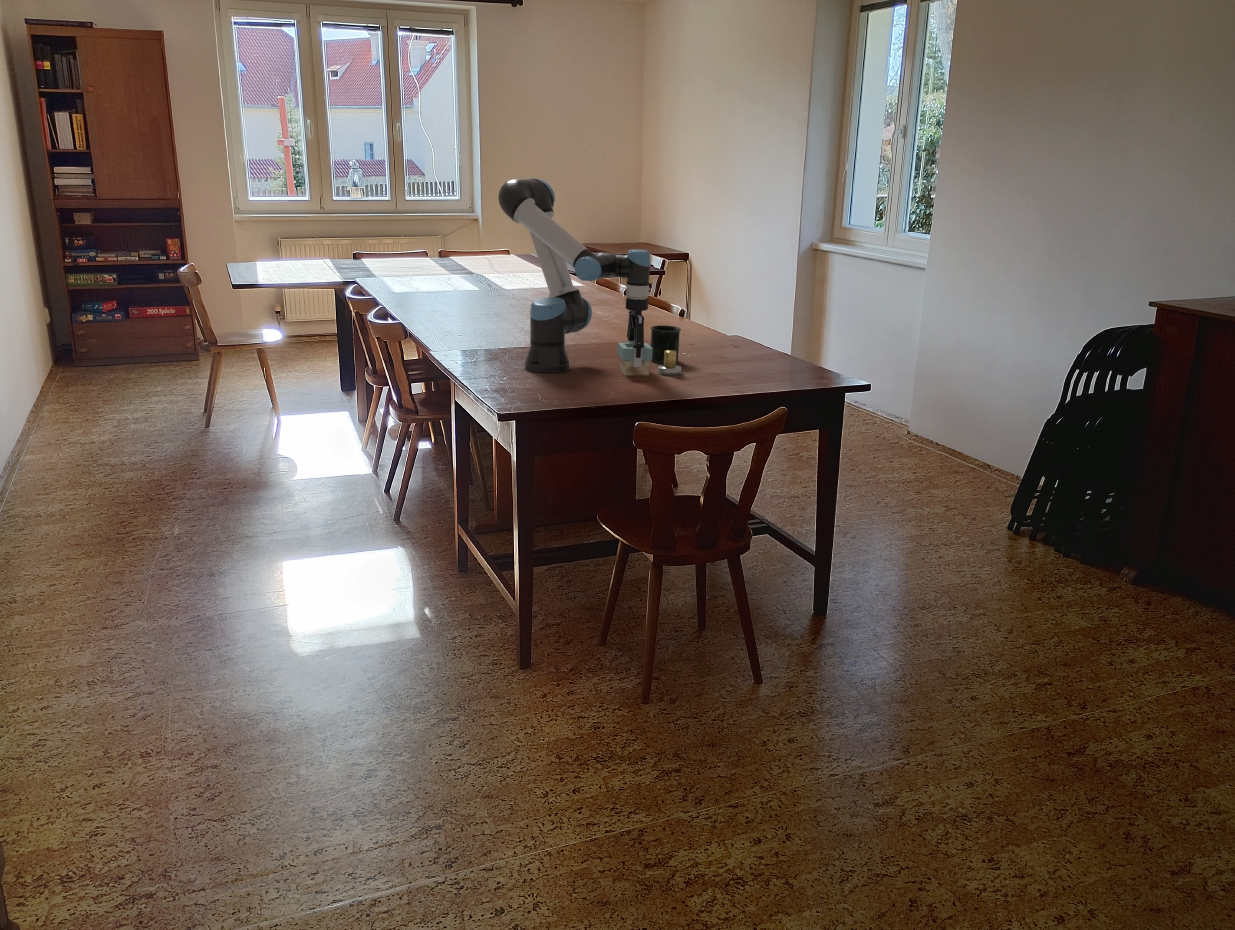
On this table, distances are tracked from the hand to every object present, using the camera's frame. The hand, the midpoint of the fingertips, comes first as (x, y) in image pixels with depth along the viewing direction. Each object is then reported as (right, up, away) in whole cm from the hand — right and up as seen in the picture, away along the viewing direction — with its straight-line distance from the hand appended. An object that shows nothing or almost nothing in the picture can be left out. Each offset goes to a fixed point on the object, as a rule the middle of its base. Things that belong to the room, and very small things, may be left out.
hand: (634, 363), depth 320 cm
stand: (0, -3, +1) cm, 3 cm away
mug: (+10, +3, +22) cm, 25 cm away
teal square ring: (0, +2, -1) cm, 2 cm away
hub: (+12, -3, +2) cm, 13 cm away
